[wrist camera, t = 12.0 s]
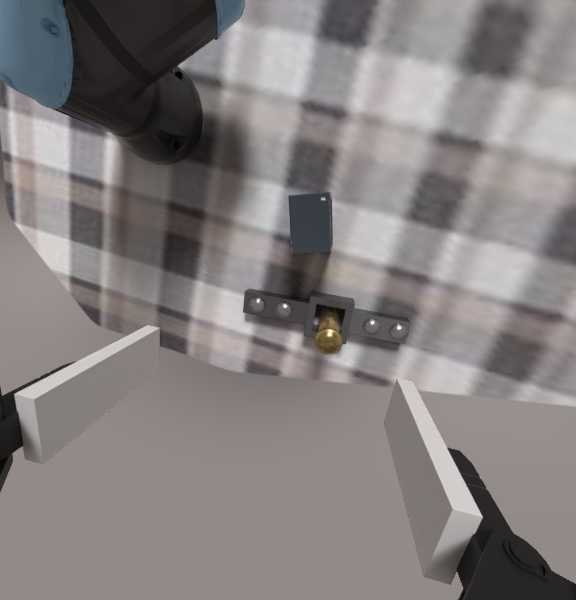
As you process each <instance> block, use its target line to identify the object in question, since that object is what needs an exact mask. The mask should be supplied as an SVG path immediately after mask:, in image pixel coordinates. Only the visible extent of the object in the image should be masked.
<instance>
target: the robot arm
mask: <svg viewBox="0 0 576 600" xmlns="http://www.w3.org/2000/svg"><path fill="white" fill-rule="evenodd" d="M244 6H245V0H0V79H1V80H2V81H3V82H4V83H6V84H7V85H8V86H10V87H11V88H13V89H14V90H16V91H18V92H20V93H22V94H24V95H26V96H28V97H30V98H32V99H34V100H36V101H37V102H38V103H40V104H41V105H43V106H46V107H48V108H51V109H54V110H56V111H58V112H61V113H63V114H66V115H68V116H71V117H73V118H76V119H78V120H80V121H83V122H85V123H88V124H90V125H93V126H95V127H97V128H100V129H102V130H105V131H107V132H110V133H112V134H113V135H115V136H116V137H117V138H118V139H119V140H120V141H121V142H122V143H123V144H124V145H125V146H126V147H127V148H128V149H129V150H130V151H131V152H133V153H134V154H136V155H137V156H139V157H140V158H143V159H145V160H148V161H150V162H153V163H156V164H172V163H175V162H177V161H180V160H181V159H183V158H184V157H185V156H187V155H188V154H189V153H190V152H191V150H192V149H193V148H194V146H195V144H196V142H197V140H198V138H199V135H200V132H201V127H202V107H201V102H200V98H199V95H198V92H197V90H196V88H195V86H194V84H193V83H192V81H191V80H190V78H189V77H188V76H187V75H186V74H185V73H184V72H183V71H182V70H181V69H180V68H179V66H178V65H179V64H180V63H182V62H183V61H185V60H186V59H187V58H189V57H190V56H191V55H193V54H194V53H195V52H197V51H198V50H200V49H201V48H202V47H204V46H205V45H206V44H208V43H209V42H210V41H212V40H213V39H215V40H218V39H219V38H220V37H221V35H222V33H223V32H224V31H225V30H227V29H228V28H229V27H230V26H231V25H233V24H234V23H235V22H236V21H238V20H239V18H240V17H241V16H242V14H243V10H244ZM159 348H160V328H158V327H153V326H148V325H147V326H145V327H143V328H141V329H139V330H137V331H135V332H133V333H132V334H130V335H128V336H126V337H124V338H122V339H120V340H118V341H116V342H114V343H112V344H110V345H108V346H106V347H105V348H102V349H101V350H99V351H97V352H95V353H93V354H91V355H89V356H87V357H85V358H83V359H81V360H79V361H76V362H72V363H69V364H66V365H63V366H61V367H59V368H57V369H55V370H53V371H51V372H50V373H47V374H45V375H43V376H41V377H40V378H37V379H35V380H33V381H31V382H29V383H27V384H25V385H23V386H21V387H19V388H17V389H15V390H13V391H11V392H9V393H7V394H5V395H3V396H2V394H1V388H0V492H1V489H2V487H3V484H4V482H5V479H6V477H7V475H8V472H9V470H10V467H11V465H12V462H13V455H12V453H13V452H15V451H16V450H17V449H19V448H20V447H22V446H23V451H24V456H25V459H26V460H30V461H33V462H37V463H40V464H45V463H46V462H47V461H48V460H49V459H51V458H52V457H53V456H54V455H55V454H57V453H58V452H59V451H60V450H62V449H63V448H64V447H66V446H67V445H68V444H69V443H70V442H72V441H73V440H74V439H75V438H77V437H78V436H79V435H80V434H82V433H83V432H84V431H85V430H86V429H88V428H89V427H90V426H91V425H93V424H94V423H95V422H96V421H98V420H99V419H100V418H101V417H103V416H104V415H105V414H106V413H107V412H109V411H110V410H111V409H112V408H114V407H115V406H116V405H117V404H119V402H121V401H122V400H124V399H125V398H126V397H127V396H128V395H129V394H131V393H132V392H133V391H135V390H136V389H137V388H138V387H140V386H141V385H142V384H143V383H144V382H146V381H147V380H148V379H149V378H151V377H152V376H153V375H154V374H156V373H157V372H158V371H159ZM384 426H385V430H386V434H387V438H388V441H389V445H390V449H391V452H392V456H393V461H394V464H395V468H396V472H397V476H398V480H399V484H400V487H401V491H402V495H403V499H404V503H405V507H406V511H407V514H408V518H409V522H410V526H411V530H412V534H413V538H414V541H415V545H416V549H417V553H418V557H419V561H420V564H421V568H422V572H423V576H424V577H427V578H430V579H433V580H437V581H440V582H444V583H447V584H451V583H452V580H453V578H454V576H455V574H456V572H458V575H459V577H460V580H461V583H462V586H463V588H464V589H463V591H462V593H461V595H460V598H459V599H458V600H576V584H575V583H573V582H571V581H569V580H567V579H565V578H563V577H562V576H560V575H558V574H556V573H555V572H553V571H551V569H550V567H549V565H548V564H547V562H546V561H545V560H544V559H543V557H542V556H541V555H540V554H539V553H538V552H537V550H535V549H534V548H533V547H532V546H531V545H530V544H529V543H527V542H526V541H525V540H523V539H522V538H520V537H519V536H517V535H515V534H514V533H513V532H512V531H511V529H510V527H509V525H508V524H507V522H506V520H505V518H504V517H503V515H502V513H501V512H500V510H499V508H498V507H497V505H496V503H495V502H494V500H493V498H492V497H491V495H490V493H489V491H488V490H486V486H485V485H484V483H483V481H482V480H481V479H480V478H479V475H478V473H477V471H476V469H475V468H474V466H473V465H472V463H471V462H470V461H469V460H468V459H467V458H466V457H465V456H464V455H463V454H462V453H461V452H460V451H459V450H455V449H450V448H447V447H446V445H445V443H444V441H443V440H442V438H441V436H440V434H439V432H438V430H437V428H436V426H435V424H434V422H433V420H432V418H431V416H430V414H429V413H428V411H427V409H426V407H425V405H424V403H423V401H422V399H421V397H420V395H419V393H418V391H417V389H416V388H415V386H414V384H413V382H412V381H407V380H403V379H398V378H397V380H396V383H395V386H394V390H393V393H392V396H391V400H390V403H389V407H388V410H387V413H386V417H385V420H384Z"/></svg>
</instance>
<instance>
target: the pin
mask: <svg viewBox="0 0 576 600" xmlns="http://www.w3.org/2000/svg"><path fill="white" fill-rule="evenodd" d="M315 345H316V347H317V349H318V350H319V351H320V352H322V353H325V354H333V353H336V352H337V351H339V349H340V348H341V346H342V337H341V334H340V333H339V319H338V312H337V310H336V309H335V308H333V307H325V308H324V309H323V310H322V311H321V315H320V323H319V330H318V332H317V334H316V337H315Z"/></svg>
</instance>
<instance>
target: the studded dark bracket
mask: <svg viewBox="0 0 576 600" xmlns="http://www.w3.org/2000/svg"><path fill="white" fill-rule="evenodd" d="M317 304H320V305H325V306H331V307H336V308H341V309H344V311H343V316H342V321H341V325H340V329H339V333H340V334H341V337H342V344H346V340H347V336H348V333H350V334H356V335H361V336H366V337H371V338H376V339H381V340H386V341H391V342H396V343H401V344H405V341H406V338H407V336H408V331H409V327H410V324H411V322H410V321H409V320H408V318H404V317H399V316H394V315H388V314H383V313H377V312H372V311H367V310H361V309H356V308H354V305H355V303H354V300H353V299H352V298H347V297H341V296H336V295H330V294H325V293H319V292H314V291H312V294H311V297H310V300H307V299H302V298H297V297H291V296H286V295H280V294H275V293H270V292H264V291H259V290H253V289H248V290H247V291H245V298H244V307H243V312H244V313H249V314H254V315H259V316H264V317H269V318H274V319H279V320H284V321H290V322H295V323H300V324H305V325H306V326H305V331H304V336H308V337H313V338H315V337H316V334H317V332H318V330H319V325H315V324H313V321H314V316H315V311H316V305H317Z"/></svg>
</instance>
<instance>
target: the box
mask: <svg viewBox="0 0 576 600" xmlns="http://www.w3.org/2000/svg"><path fill="white" fill-rule="evenodd" d="M289 211H290V229H291V246H292V254H299V253H331V252H332V239H333V233H332V199H331V194H330V192H324V193H313V194H300V195H289Z"/></svg>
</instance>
